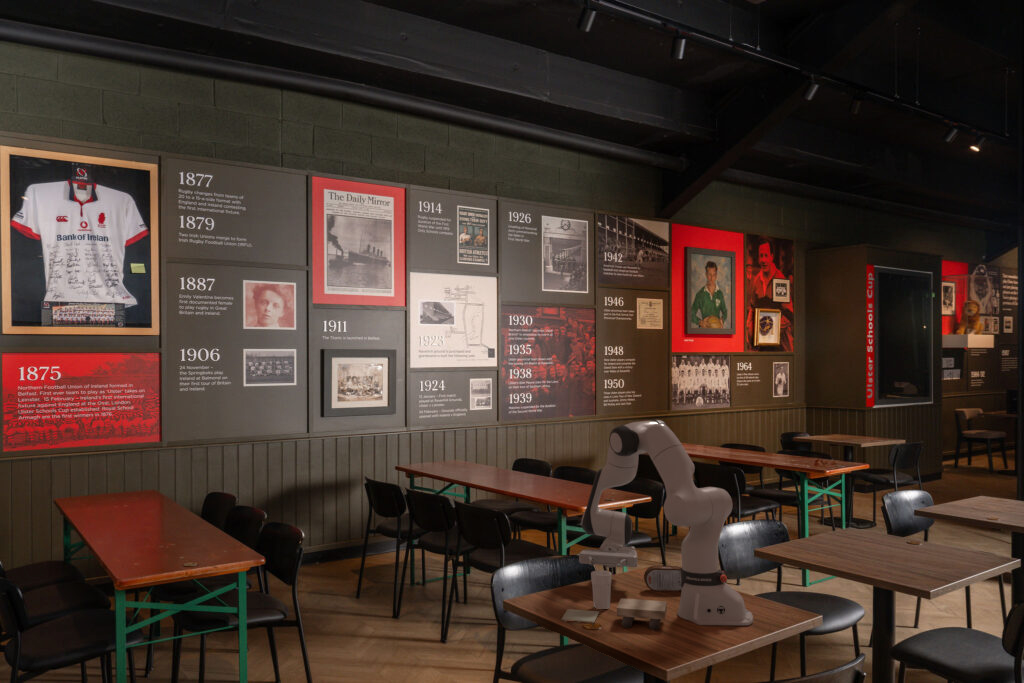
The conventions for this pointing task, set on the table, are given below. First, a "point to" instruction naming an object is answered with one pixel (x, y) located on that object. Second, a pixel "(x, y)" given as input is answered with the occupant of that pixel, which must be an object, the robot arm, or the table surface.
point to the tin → (663, 578)
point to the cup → (601, 588)
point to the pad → (581, 615)
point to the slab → (642, 611)
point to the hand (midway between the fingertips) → (605, 563)
